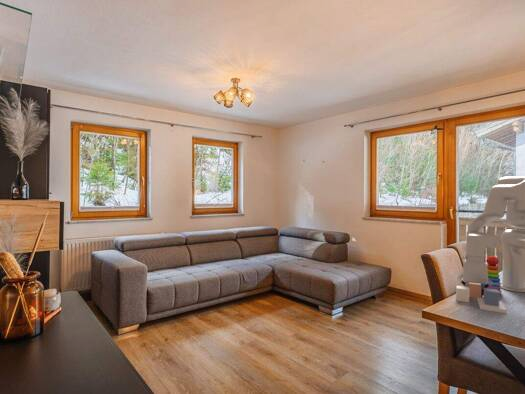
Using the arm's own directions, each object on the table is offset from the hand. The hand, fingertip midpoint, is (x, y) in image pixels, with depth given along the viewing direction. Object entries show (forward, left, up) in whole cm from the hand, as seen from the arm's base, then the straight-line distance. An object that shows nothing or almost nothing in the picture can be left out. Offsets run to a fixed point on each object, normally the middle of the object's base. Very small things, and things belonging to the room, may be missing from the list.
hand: (474, 295), depth 152 cm
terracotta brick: (0, 0, -1) cm, 1 cm away
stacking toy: (-12, +9, -1) cm, 15 cm away
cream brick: (+9, -5, -1) cm, 11 cm away
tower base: (+13, +5, -1) cm, 14 cm away
